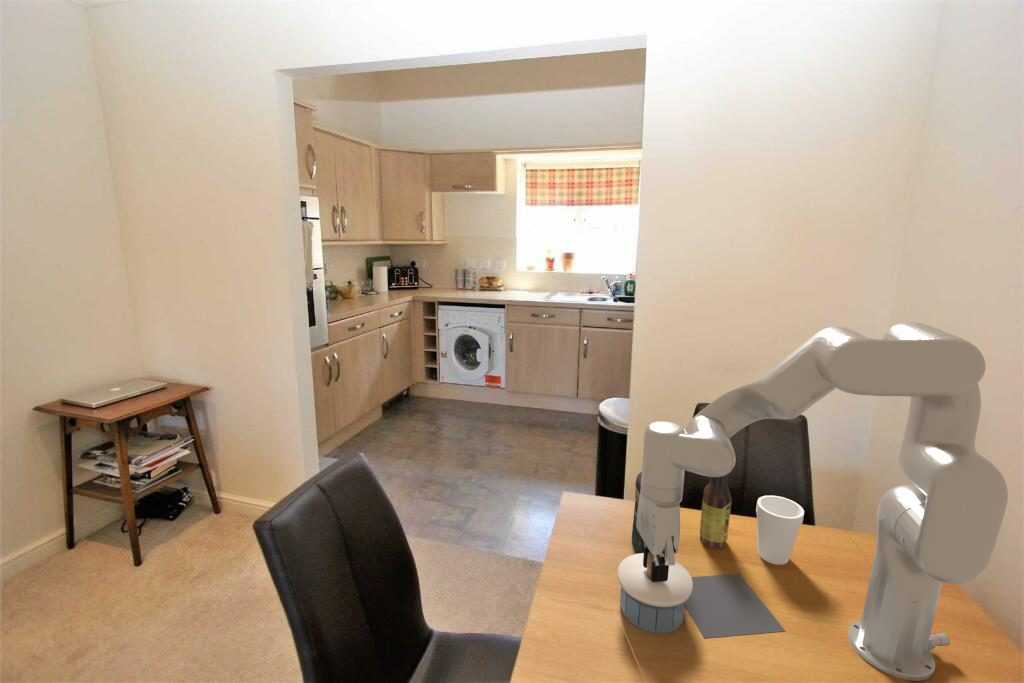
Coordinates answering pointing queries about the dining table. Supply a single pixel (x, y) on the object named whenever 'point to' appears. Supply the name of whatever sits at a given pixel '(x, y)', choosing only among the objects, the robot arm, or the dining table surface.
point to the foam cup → (777, 528)
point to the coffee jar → (636, 536)
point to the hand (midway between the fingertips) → (655, 572)
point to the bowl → (651, 614)
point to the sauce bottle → (715, 513)
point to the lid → (654, 593)
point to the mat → (728, 607)
